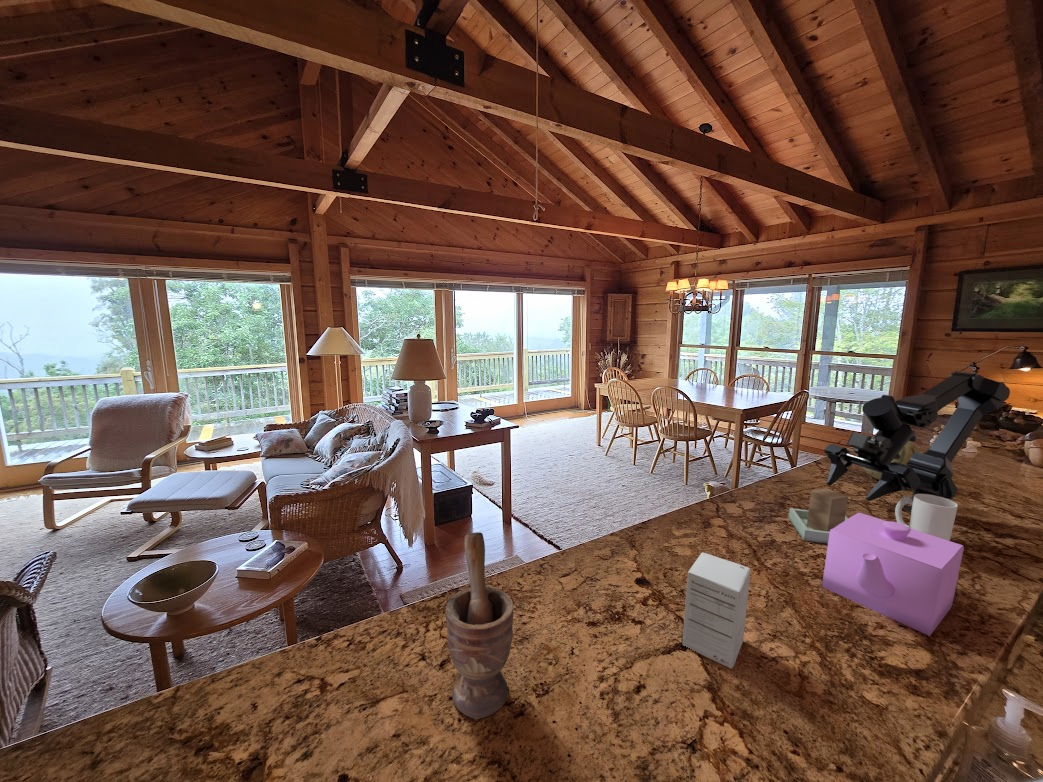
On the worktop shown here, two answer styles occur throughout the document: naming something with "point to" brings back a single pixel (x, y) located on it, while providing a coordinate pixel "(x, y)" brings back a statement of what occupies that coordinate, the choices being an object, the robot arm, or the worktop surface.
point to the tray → (807, 534)
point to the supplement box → (716, 608)
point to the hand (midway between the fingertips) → (846, 491)
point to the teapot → (893, 570)
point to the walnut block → (826, 509)
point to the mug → (929, 514)
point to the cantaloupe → (905, 457)
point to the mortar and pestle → (479, 637)
